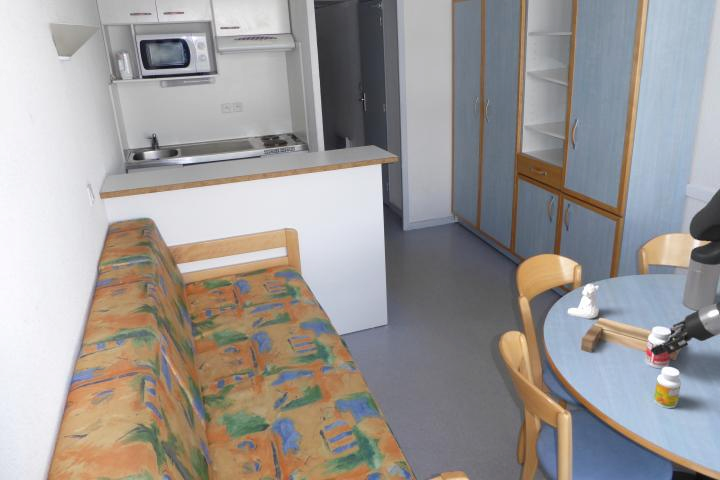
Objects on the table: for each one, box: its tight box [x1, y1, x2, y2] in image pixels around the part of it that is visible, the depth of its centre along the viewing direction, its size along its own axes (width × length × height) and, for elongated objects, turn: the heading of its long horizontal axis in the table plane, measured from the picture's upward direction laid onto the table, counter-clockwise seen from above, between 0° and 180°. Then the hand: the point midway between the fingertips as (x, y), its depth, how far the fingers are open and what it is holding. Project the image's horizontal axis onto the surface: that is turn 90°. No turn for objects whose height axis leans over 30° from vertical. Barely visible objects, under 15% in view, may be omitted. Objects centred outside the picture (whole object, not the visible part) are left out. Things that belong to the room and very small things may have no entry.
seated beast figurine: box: [567, 283, 600, 320], centre depth 186 cm, size 10×9×12 cm
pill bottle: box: [644, 325, 672, 370], centre depth 158 cm, size 6×6×11 cm
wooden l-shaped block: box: [580, 317, 681, 361], centre depth 167 cm, size 18×24×4 cm
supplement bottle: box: [653, 366, 682, 409], centre depth 143 cm, size 5×5×10 cm
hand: (656, 345), depth 159 cm, fingers open, 8 cm apart
